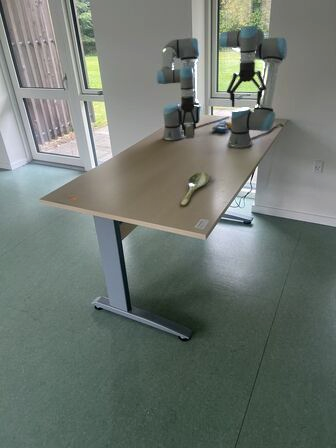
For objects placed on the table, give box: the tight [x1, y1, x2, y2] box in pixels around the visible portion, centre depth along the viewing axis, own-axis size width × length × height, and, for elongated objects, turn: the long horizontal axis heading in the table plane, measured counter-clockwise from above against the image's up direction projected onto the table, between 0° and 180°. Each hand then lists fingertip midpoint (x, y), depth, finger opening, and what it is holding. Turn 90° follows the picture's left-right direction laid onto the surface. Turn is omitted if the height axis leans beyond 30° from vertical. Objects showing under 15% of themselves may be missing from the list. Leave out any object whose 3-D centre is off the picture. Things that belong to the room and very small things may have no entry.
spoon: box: [180, 171, 210, 207], centre depth 170 cm, size 35×11×2 cm, turn 159°
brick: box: [184, 123, 195, 140], centre depth 208 cm, size 7×5×8 cm
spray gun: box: [211, 120, 231, 133], centre depth 256 cm, size 21×4×15 cm
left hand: (189, 134), depth 210 cm, fingers closed on brick, 5 cm apart
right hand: (245, 105), depth 179 cm, fingers open, 13 cm apart
